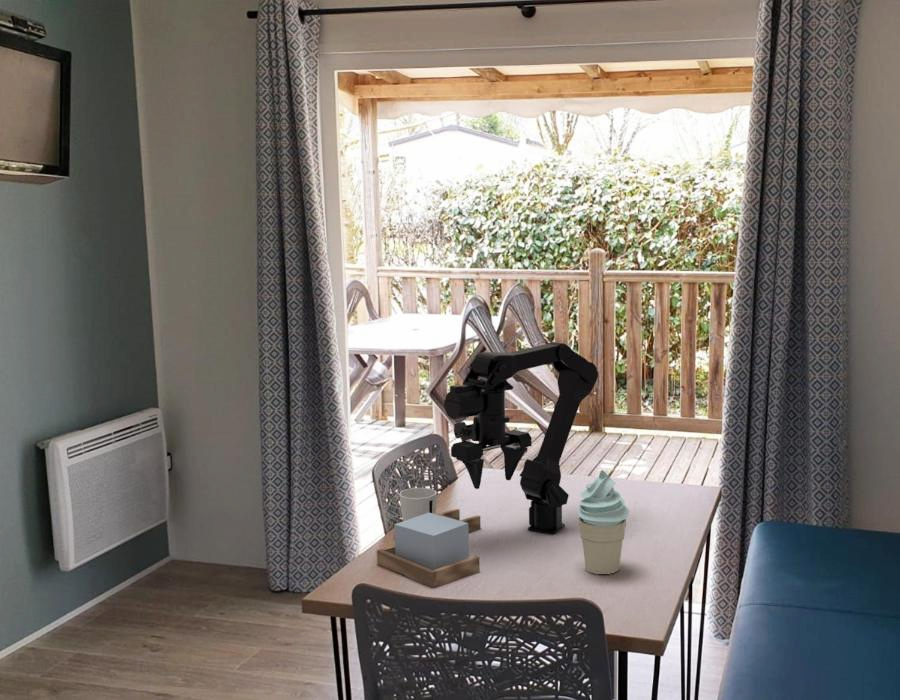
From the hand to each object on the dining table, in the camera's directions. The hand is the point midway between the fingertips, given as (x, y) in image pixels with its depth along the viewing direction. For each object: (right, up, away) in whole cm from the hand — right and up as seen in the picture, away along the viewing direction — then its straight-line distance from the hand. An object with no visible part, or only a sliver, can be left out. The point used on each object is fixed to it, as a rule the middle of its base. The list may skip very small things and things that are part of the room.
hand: (492, 484), depth 213 cm
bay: (-13, -15, -12) cm, 24 cm away
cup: (-16, -13, +7) cm, 21 cm away
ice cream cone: (+21, -15, -15) cm, 30 cm away
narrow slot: (-7, -12, +12) cm, 18 cm away
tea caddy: (-13, -15, -11) cm, 22 cm away
